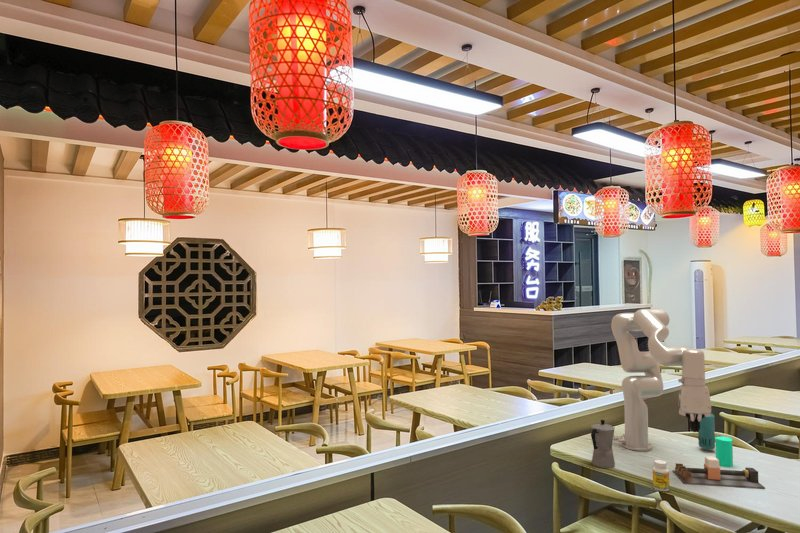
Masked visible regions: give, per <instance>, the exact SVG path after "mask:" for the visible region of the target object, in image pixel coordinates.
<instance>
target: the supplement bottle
mask: <svg viewBox="0 0 800 533" xmlns="http://www.w3.org/2000/svg"><path fill="white" fill-rule="evenodd" d="M653 463H654V466H653V467H652V487H653V489H654V490H656V491H660V492H668V491H670V488H671V487H670V486H671V485H670V469H669V468H668V464H667V463H668V462H667V461H665V460H662V459H655V460H654V462H653Z"/></svg>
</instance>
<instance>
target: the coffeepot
mask: <svg viewBox="0 0 800 533" xmlns="http://www.w3.org/2000/svg"><path fill="white" fill-rule="evenodd" d="M605 422H606V420H605V419H600V423H595V424H591V426H590V429H591V433H590V437H591V442H592V446H593V451H592V459H591V464H592V465H593V466H595V467H598V468H601V469H612V468H614V467H615V464H616V462H615V457H614V456H615V455H614V450H613V443H614V442H613V441H614V436H615V428H616V427H614V426H612V424H605Z"/></svg>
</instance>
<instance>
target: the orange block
mask: <svg viewBox="0 0 800 533" xmlns="http://www.w3.org/2000/svg"><path fill="white" fill-rule="evenodd" d="M703 469H708V474H704V475H705V476H706V477H707V478H708V479H715V480H720V470H721V468H720V466H719V460H718V459H717V458H716V456H704V463H703Z"/></svg>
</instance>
